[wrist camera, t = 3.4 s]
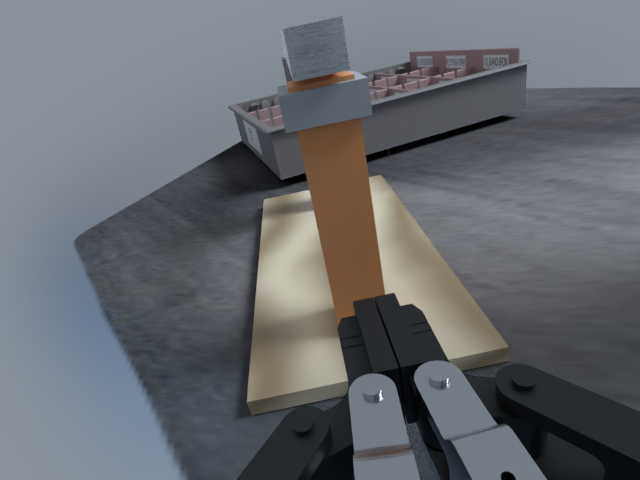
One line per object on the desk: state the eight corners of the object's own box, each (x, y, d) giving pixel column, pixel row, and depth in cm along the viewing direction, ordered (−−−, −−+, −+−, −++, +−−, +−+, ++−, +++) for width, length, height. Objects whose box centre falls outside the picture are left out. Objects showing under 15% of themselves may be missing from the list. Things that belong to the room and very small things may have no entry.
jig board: (381, 182, 49) (380, 174, 48) (509, 361, 22) (509, 346, 22) (266, 207, 49) (263, 199, 48) (251, 415, 22) (246, 401, 22)
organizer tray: (239, 147, 81) (224, 95, 76) (418, 99, 89) (414, 50, 85) (279, 193, 53) (259, 115, 48) (532, 117, 62) (536, 44, 57)
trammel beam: (335, 185, 48) (306, 27, 40) (394, 337, 24) (349, 14, 16) (310, 191, 48) (276, 34, 40) (342, 348, 24) (275, 30, 16)
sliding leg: (384, 288, 28) (352, 66, 21) (399, 326, 24) (367, 72, 18) (325, 301, 28) (276, 82, 21) (332, 340, 24) (276, 91, 18)
